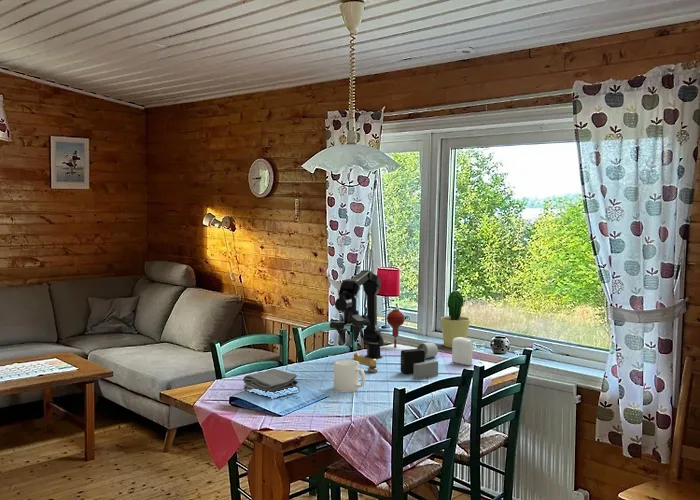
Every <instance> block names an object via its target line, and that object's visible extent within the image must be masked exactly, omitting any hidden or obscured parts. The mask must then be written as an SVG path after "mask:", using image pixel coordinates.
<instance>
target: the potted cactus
mask: <svg viewBox="0 0 700 500" xmlns="http://www.w3.org/2000/svg"><path fill="white" fill-rule="evenodd" d="M447 296H448V297H447V299H446V300H447V302H446V304H447V306H446V308H447V309H448V315H446V316H441V317H440V323H441V329H442V330H441V331H442V339H443V340H442V341H443V346H444V347H446V348H451V349H452V341H453V339H454V338H457V337H463V338H467V339H468V334H469V330H470V329H469V328H470V323H471V322H470V321H471V318H470V317H467V316H461V314H462V313H463V307H464V306H465V305H464V304H465V303H464V296H463V294H462V293H461V292H460V291H458V290H452V291H451V292H450V293H449V294H448V295H447Z"/></svg>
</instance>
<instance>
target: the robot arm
mask: <svg viewBox="0 0 700 500" xmlns="http://www.w3.org/2000/svg"><path fill="white" fill-rule="evenodd" d="M381 280H382V279H380V277H379V276H378V275H377V274H376V273H375V274H374V273H373V271H371V270H368V269H367V270H366V269H362V270H360V272H359V273H358V274H356V275H355V276H353V277H352V278H346V279H343V280H342V282H341V284H340V287H339V290H338V294H337V295H338V298H337V299H336V300H335V302H334V308H335V309H336V310H337V311H339V312H342V313H343V318H341V320H335V321H334V320H333V321H332V320H331V322H330V323H329V328H330V329H332V330H336V331H337V334H338V335H339V336H340V339H341V342H342V344H346V332H347V331H348V328H346V327H348V326H350V327H351V326H352V335H353V341H354V342H355V343H357V341H358V338H359V336H360V333H361V331H362V330H363V335H362V339H363V340H362V341H363V345H364V346H365V345H366V355H364V357H368V358H374V359H376V360H377V359H380V358H383V356H382V355H381V347H383V346H384V344H385V341H384V338H383V335H382V334H381V333H382V332H381V328H380V327H379V325H378V297H377V296H378V294H379V292H380V290H381V286H382V281H381ZM361 286H363V292H364V293H365V295H366V314H362V315H360V313H359V310H358V309H357V300H358V299H357V298H359V295H358V293H359V291H360V290H361Z"/></svg>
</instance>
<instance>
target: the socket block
mask: <svg viewBox="0 0 700 500" xmlns="http://www.w3.org/2000/svg"><path fill="white" fill-rule="evenodd" d="M412 375H413V376H412V377H413V379H417V380H420V379H424V378H431V377H435V376H438V375H439V361H438V360H435V359H432V360H428V361H427V360H426V361H425V362H421V363H416V364H414V373H413V374H412ZM434 375H435V376H434Z"/></svg>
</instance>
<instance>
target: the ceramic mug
mask: <svg viewBox="0 0 700 500" xmlns="http://www.w3.org/2000/svg"><path fill="white" fill-rule="evenodd" d="M438 348H439V347H438V346H437V344H435V343H434V342H420V343H418V345H417V347H416V349H422V350H424V351H425V359H429V358H434V357H436V356H437V355H438V353H439V349H438Z"/></svg>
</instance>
